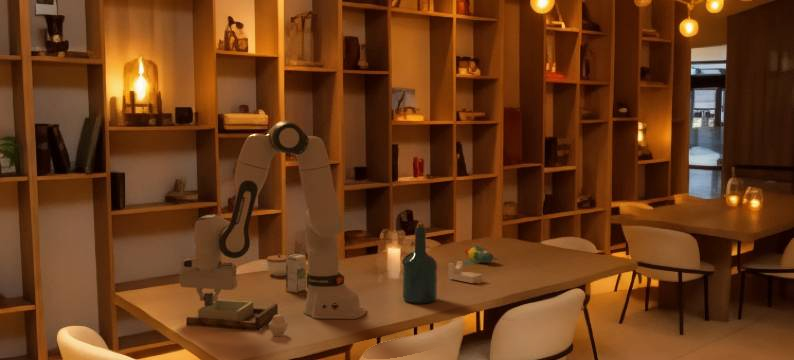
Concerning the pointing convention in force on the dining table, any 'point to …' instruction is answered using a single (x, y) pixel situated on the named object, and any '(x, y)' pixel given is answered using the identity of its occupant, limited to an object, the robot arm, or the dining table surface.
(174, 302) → the dining table surface
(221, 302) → the drawer
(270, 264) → the lidded jar
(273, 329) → the muffin
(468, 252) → the green parrot figure
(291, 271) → the syrup box
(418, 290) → the wine bottle
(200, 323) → the bay
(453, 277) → the bracket
